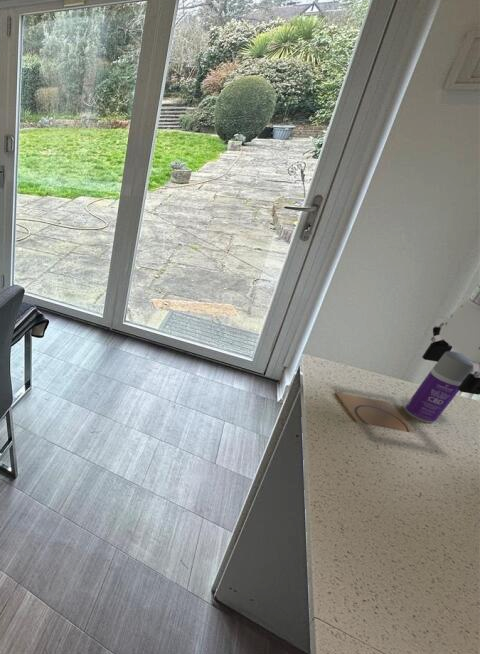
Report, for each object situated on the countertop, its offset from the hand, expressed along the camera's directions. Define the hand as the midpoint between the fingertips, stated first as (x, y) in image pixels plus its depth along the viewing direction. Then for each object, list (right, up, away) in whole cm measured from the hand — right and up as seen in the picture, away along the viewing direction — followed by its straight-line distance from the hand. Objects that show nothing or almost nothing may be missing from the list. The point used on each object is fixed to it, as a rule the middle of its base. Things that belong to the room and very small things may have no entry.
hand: (449, 375), depth 81 cm
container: (0, -10, +5) cm, 11 cm away
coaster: (-11, -10, +3) cm, 15 cm away
